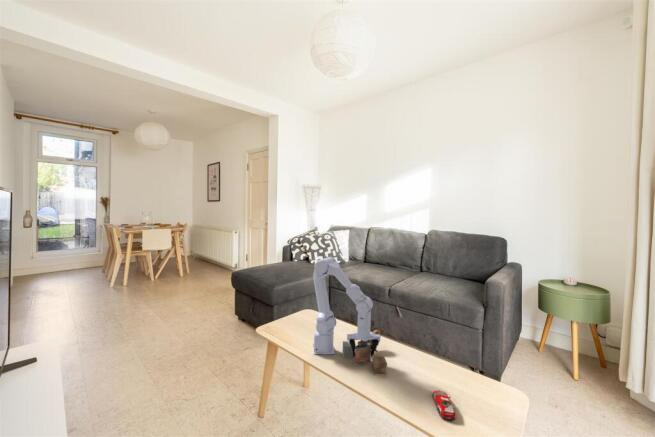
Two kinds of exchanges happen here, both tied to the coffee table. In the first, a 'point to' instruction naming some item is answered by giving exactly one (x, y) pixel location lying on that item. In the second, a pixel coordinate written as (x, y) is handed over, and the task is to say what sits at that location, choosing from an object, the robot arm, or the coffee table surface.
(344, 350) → the gray block
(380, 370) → the walnut block
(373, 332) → the lion figurine
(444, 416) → the race car
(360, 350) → the lighter
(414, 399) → the coffee table surface
